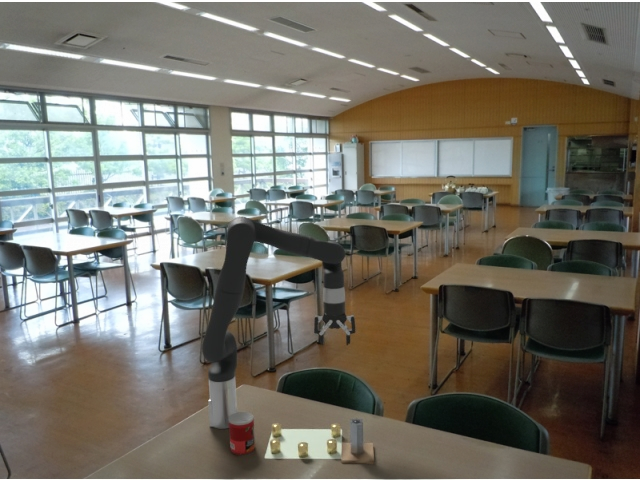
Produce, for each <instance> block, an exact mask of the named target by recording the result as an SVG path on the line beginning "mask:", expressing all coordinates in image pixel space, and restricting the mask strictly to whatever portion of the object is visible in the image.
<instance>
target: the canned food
mask: <svg viewBox="0 0 640 480" xmlns="http://www.w3.org/2000/svg"><path fill="white" fill-rule="evenodd" d="M254 420H255V418H254V415H253V414H252V413H251V412H247V411H237V413H234V414H232V415H231V416H230V417H229V428H228V429H229V431H228V432H229V445H230V451H231V452H232V453H233V454H234V455H238V456H241V455H246V454H250V453H251V452H253V451H254V449H255V447H256V443H255V442H256V441H255V438H256V437H255V421H254Z"/></svg>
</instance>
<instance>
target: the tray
mask: <svg viewBox="0 0 640 480" xmlns="http://www.w3.org/2000/svg"><path fill="white" fill-rule="evenodd" d="M363 450H364V453H363V454H360V455H355V454H352V453H351V444H350V442H342V451H341V459H340V461H341V464H367V465H375V455H374V453H375V451H374V444H373V442H363Z"/></svg>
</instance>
